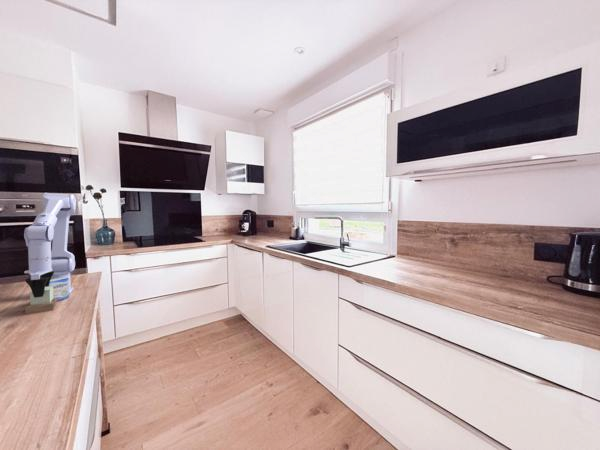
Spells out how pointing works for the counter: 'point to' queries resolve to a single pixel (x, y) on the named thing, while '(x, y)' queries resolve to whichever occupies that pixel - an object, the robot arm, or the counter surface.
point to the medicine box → (60, 288)
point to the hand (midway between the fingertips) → (41, 294)
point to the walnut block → (40, 307)
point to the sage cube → (42, 300)
